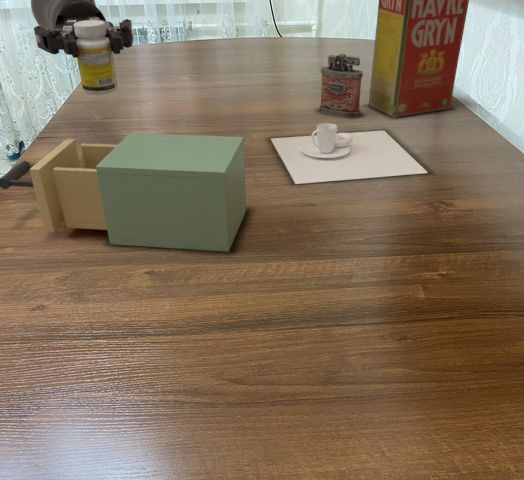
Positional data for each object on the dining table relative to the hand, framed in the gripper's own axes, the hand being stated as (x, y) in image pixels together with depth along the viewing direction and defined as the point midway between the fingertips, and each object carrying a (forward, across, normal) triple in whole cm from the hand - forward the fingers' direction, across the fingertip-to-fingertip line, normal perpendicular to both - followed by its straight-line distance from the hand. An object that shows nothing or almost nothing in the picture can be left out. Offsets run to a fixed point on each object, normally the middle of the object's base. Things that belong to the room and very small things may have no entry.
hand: (96, 47), depth 79 cm
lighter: (-15, +44, +18) cm, 50 cm away
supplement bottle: (-3, 0, +6) cm, 7 cm away
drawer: (+13, -6, +17) cm, 22 cm away
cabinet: (+19, +4, +18) cm, 26 cm away
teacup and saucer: (+5, +35, +18) cm, 40 cm away
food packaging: (-13, +58, +18) cm, 62 cm away
